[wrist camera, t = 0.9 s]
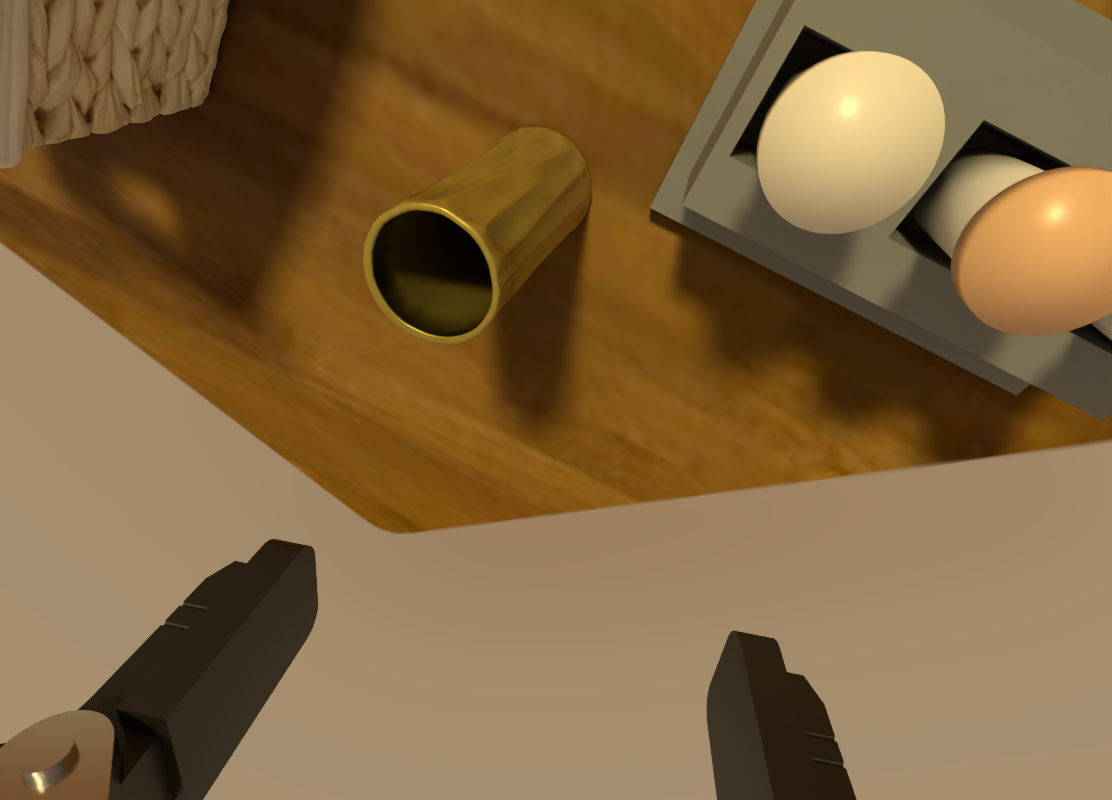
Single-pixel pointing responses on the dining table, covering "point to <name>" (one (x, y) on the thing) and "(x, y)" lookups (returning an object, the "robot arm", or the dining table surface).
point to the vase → (476, 235)
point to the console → (970, 121)
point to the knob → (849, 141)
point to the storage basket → (100, 65)
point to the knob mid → (1024, 240)
